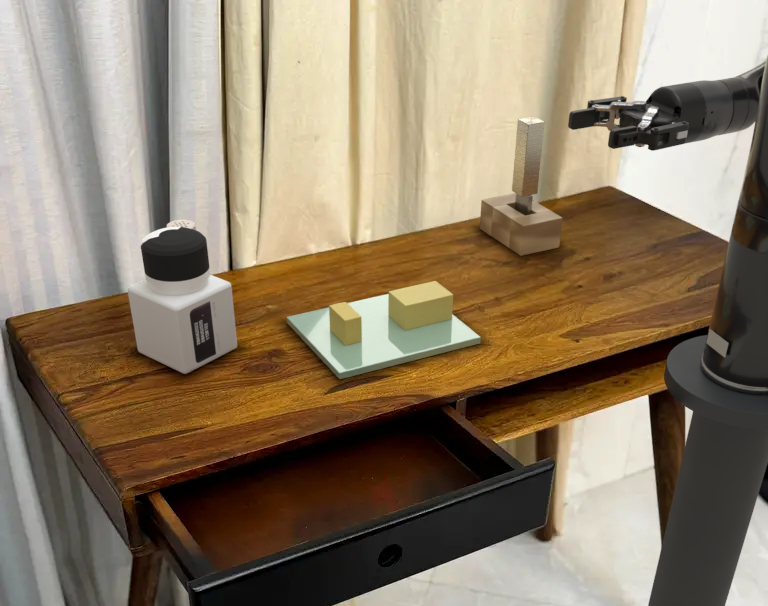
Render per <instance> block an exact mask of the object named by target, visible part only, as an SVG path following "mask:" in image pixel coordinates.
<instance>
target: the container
mask: <svg viewBox="0 0 768 606" xmlns="http://www.w3.org/2000/svg"><path fill="white" fill-rule="evenodd" d="M139 245H140V251H141V258H142V263H143V270H144V277H145V278H144V279H142V280H140V281H138V282H135V283H132V284H131V285H128V287H127V296H128V302H129V308H130V313H131V318H132V319H131V320H132V325H133V331H134V336H135V342H136V348H137V352H138V353H140V354H142V355H143V356H146V357H147V358H150V359H152V360H154V361H156V362H158V363H161V364H163V365H165V366H166V367H168V368H171V369H173V370H175V371H177V372H178V373H181V374H182V375H187V374H189V373H191V372H193V371H195V370H197V369H200V367H203V366H205V365H207V364H209V363H210V362H212V361H215V360H216V359H219V358H220V357H222V356H224V355H226V354H229V353H230V352H231V351H234V350H236V349H237V348H238V338H237V336H238V335H237V328H236V327H237V326H236V318H235V317H236V316H235V309H234V298H233V296H234V295H233V286H232V283H231V282H230V281H228V280H226V279H223V278H220V277H217V276H215V275H213V274H211V268H210V260H209V251H208V241H207V237H206V236H205V235H204V234H203V233H201V231H198V230H197V229H196V230H194V229H190V228H185V227H167V226H166V227H163V228H158V229H156V230H154V231H152V232H150V233H147V234H146V235H145V236H144V237H143V239H142V240H141V242H140V244H139Z"/></svg>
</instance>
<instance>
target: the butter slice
mask: <svg viewBox="0 0 768 606" xmlns="http://www.w3.org/2000/svg"><path fill="white" fill-rule="evenodd" d="M347 303H348V302H346V301H343V302H338V303H333V304H329V305H328V307H329V317H330V331H331V332H332V333H333V334H334V335H335V336H336V337H337V338H338V339H339V340H340V341H341V342H342V343H343V344H344V345H350V344H354V343H358V342H362V317H361V316H360V315H359V314H358V313H357V312H356V311H355V310H354V309H353V308H352V307H351V306H350V305H348V304H347Z"/></svg>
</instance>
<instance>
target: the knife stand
mask: <svg viewBox="0 0 768 606" xmlns="http://www.w3.org/2000/svg"><path fill="white" fill-rule="evenodd" d="M515 199H516V193H515V192H513V193H509V194H503V195H499V196H494V197H488V198H483V199H481V200H480V201H481V203H480V216H479V217H480V218H479V230H481V231H482V232H484V233H485V234H486V235H488V236H490V237H491V238H493V239H495V240H496V241H497V242H499V243H501V244H502V245H504V246H505V247H506V248H508V249H510V250H511V251H512V252H514V253H515V254H517V255H518V256H520V257H522V256H527V255H531V254H535V253H540V252H545V251H549V250H553V249H558V248H560V245H561V236H562V229H563V228H562V227H563V219H564V218H563V217H562V216H560V215H559V214H557V213H555V212H554V211H552V210H551V209H549V208H547V207H545V206H543V204H540V203H539V202H537V201H535V200H533V199H532V210H531V215H526V216H525V215H523V214H521V213H520V212H518V211H516V210H515Z"/></svg>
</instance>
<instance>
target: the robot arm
mask: <svg viewBox="0 0 768 606" xmlns="http://www.w3.org/2000/svg"><path fill="white" fill-rule="evenodd" d="M627 100H628V97H626V96H624V95H621V96H613V97H607V98H606V97H605V98H599V99H591V100H587V105H586V108H583V109H577V110H572V111H570V112H569V115H568V122H567V128H568V129H570V130H572V131H574V130H581V129H587V128H593V127H600V128H601V127H602V128H603V127H605V128H606V129H607V130H608V131H609V134H608V142H607V146H608V148H610V149H612V150H614V149H620V148H627V147H632V146H635V147H637V148H644V147H645V146H647V149H648V150H650V151H651V152H652V151H653V152H654V151H659V150H663V149H667V148H672V147H677V146H680V145H681V146H682V145H684V144H685V145H686V144H690V143H691V144H692V143H696V142H701V141H705V140H708V139H712V138H714V137H717V136H722V135H727V134H728V135H729V134H732V133H733V134H734V133H737V132H738V133H739V132H742V131H744V130H747V129H749V128H750V127H752V126H753V125H754V126H753V133H752V138H751V141H750V147H749V151H748V156H747V160H746V166H745V169H744V175H743V179H742V183H741V188H740V193H739V197H738V200H737V203H736V204H737V205H736V209H735V214H734V218H733V221H732V227H731V231H730V235H729V240H728V244H727V249H726V253H725V257H724V262H723V266H722V270H721V273H720V274H721V275H720V279H719V283H718V288H717V293H716V296H715V300H714V305H713V309H712V314H711V317H710V323H709V327H708V331H707V335H708V336H707V340H706V344H705V347H704V352H703V354H702V357H701V362H700V368H701V371H702V372H703V374H704V375H705V376H706V377H707V378H708V379H709V380H711V381H712V382H714V383H715V384H717V385H719V386H721V387H723V388H726V389H729V390H732V391H735V392H739V393H744V394H751V395H768V55H767V56H766V60H764V61H763V62H762V63H760V64H758V65H757V66H755V67H753V68H751V69H749V70H747V71H744V72H742V73H741V74H738V75H736V76H733V77H728V78H721V79H715V80H696V81H695V80H694V81H690V82H682V83H677V84H671V85H665V86H660V87H658V88H656V89H655V90H654V91H652V93H651V94H650V95H649V96H648V98H647V99H646V101H644V100H634V101H631V102H629V101H627ZM615 120H618V124H616V123H615Z"/></svg>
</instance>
